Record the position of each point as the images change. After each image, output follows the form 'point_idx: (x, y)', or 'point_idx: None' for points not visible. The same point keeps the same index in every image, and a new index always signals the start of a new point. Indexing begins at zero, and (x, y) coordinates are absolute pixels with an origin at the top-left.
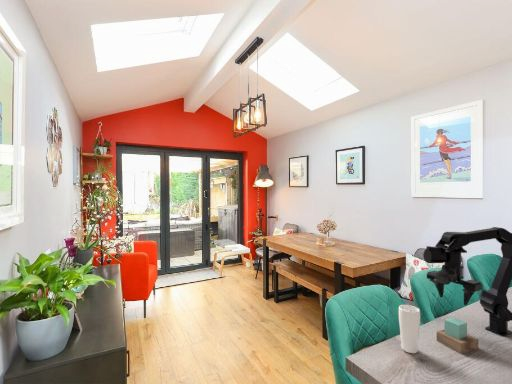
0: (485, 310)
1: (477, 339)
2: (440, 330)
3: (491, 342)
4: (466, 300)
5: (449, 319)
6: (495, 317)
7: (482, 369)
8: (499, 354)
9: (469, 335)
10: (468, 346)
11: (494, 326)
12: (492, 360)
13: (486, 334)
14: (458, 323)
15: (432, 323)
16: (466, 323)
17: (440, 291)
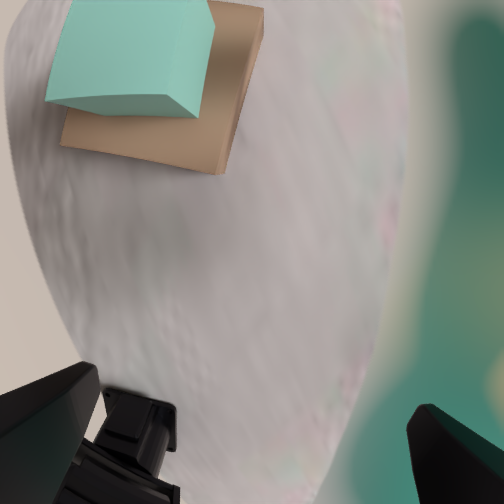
0: (172, 489)
1: (61, 136)
2: (252, 39)
3: (91, 284)
4: (14, 393)
5: (165, 14)
6: (109, 450)
7: (53, 7)
8: (35, 185)
9: (100, 144)
10: None
11: (122, 411)
12: (37, 101)
13: (143, 357)
14: (84, 14)
15: (383, 259)
16: (49, 94)
17: (464, 460)
